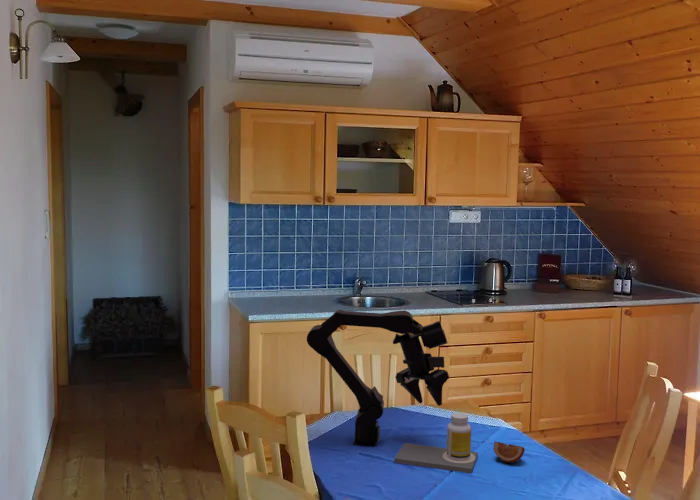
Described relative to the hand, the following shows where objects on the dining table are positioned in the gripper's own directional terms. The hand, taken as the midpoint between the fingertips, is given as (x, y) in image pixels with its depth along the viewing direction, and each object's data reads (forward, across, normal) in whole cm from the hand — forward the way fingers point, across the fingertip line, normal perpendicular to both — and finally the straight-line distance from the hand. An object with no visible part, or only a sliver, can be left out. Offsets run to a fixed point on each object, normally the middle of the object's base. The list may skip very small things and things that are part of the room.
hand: (430, 404), depth 209 cm
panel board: (+12, -7, +8) cm, 16 cm away
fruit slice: (+19, -17, -7) cm, 27 cm away
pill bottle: (+13, -11, +4) cm, 17 cm away
